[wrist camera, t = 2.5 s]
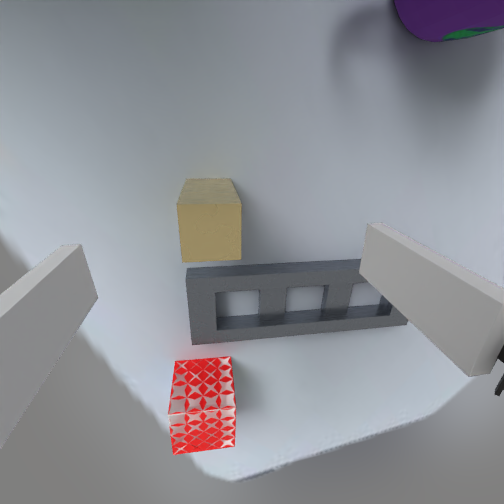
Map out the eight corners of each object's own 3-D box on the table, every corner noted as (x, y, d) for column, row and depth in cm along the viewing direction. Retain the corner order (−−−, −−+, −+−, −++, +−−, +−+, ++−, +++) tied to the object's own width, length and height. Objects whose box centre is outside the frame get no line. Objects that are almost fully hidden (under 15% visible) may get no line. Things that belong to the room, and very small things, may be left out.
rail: (193, 331, 36) (192, 345, 33) (187, 268, 31) (185, 279, 29) (395, 313, 40) (406, 324, 38) (413, 256, 36) (427, 265, 34)
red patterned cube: (230, 392, 42) (234, 446, 35) (178, 398, 41) (173, 455, 34) (230, 355, 39) (236, 406, 32) (175, 360, 37) (167, 414, 30)
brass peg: (189, 220, 29) (182, 262, 20) (186, 178, 27) (176, 204, 18) (230, 219, 30) (241, 259, 21) (230, 178, 28) (241, 203, 19)
